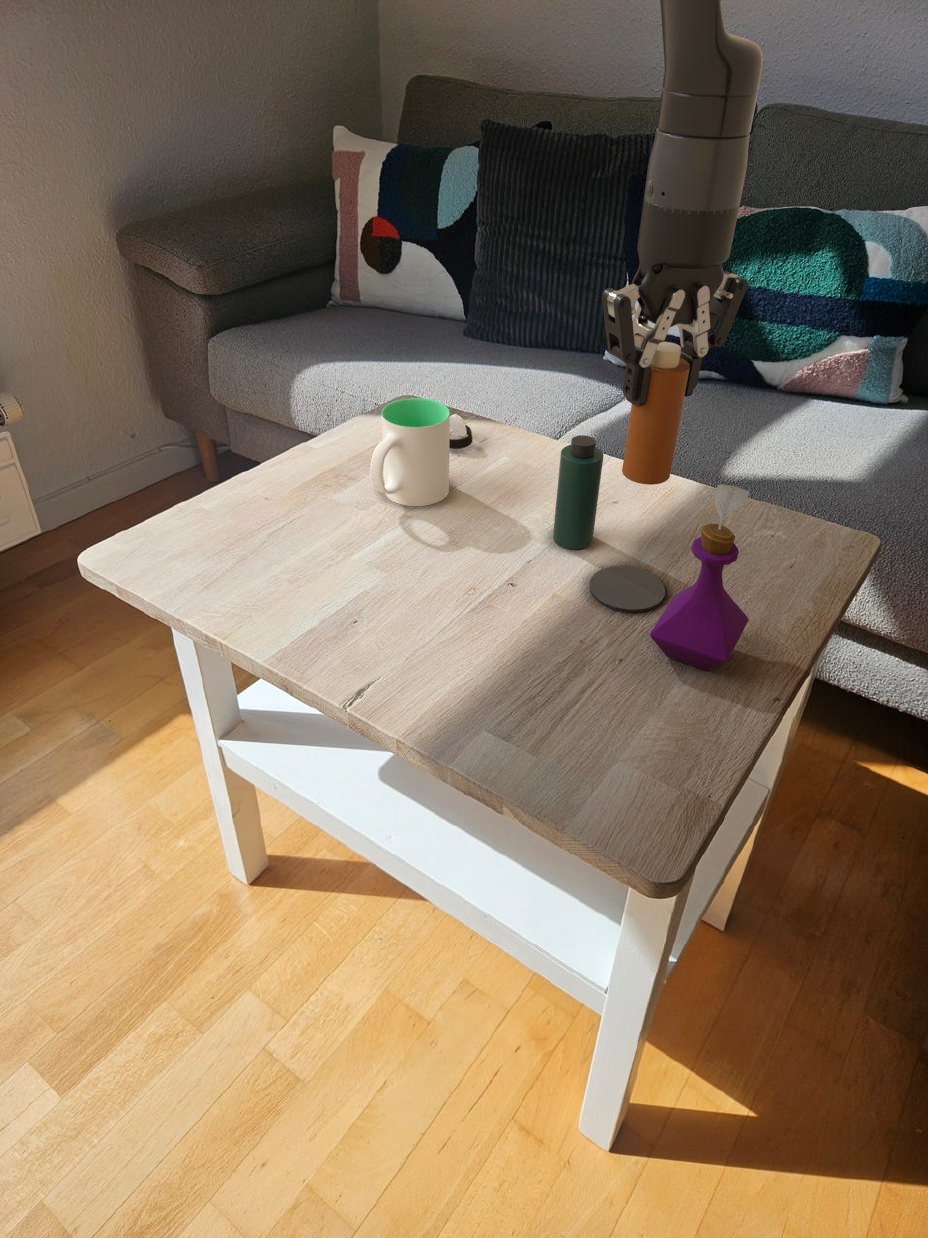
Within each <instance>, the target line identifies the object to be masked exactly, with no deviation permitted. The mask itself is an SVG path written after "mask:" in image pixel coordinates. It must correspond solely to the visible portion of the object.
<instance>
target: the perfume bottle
mask: <svg viewBox="0 0 928 1238" xmlns="http://www.w3.org/2000/svg"><path fill="white" fill-rule="evenodd" d="M750 493H751V492H750V491H748V490H747V489H743V488H742V487H739V486H736V485H728V484H718V485H717V487H716V488H715V493H714V506H715V508H716V511H717V513H718V516H719V523H707V524H705V525H702V527H701V530H700V534H701V535H700V536H699V537H697V538H695V539H694V540H693V542H692V545H691V547H690V551H691V553H692V554H693V556H694V557H695V558H696V559H697V560H699V561H700V563H701V566H700V571H699V575H698V577H697V579H696V581H695V582H694V584H692V585H690V586H688V587H686V588H685V589H683V590H682V591H680V592H678V593H676V594H674V595H673V597H672V599H671V600H670V602H669V603H668V605H667V606H666V608H665V610H664V611H663V613H662V614H661V616H660V617H659V619H658V620H657V622H656V623H655V625H654V626H653V628H652V630H651V631H650V633H649V637H650V638H651V639H652V640H653V641H654V643H655V644H656V645H657V646H658V648H659V649H660V650H661V651H662V653H663V654H664V655H665V656H666V657H667V658H668V659H671V660H674V661H677V662H680V663H682V664H685V665H688V666H691V667H694V668H697V669H699V670H702V671H705V672H709V671H711V670H713V669H715V668H717V667H719V666H722V665H724V664H725V663H727V662H728V661H729V659H730V657H731V655H732V653H733V651H734V649H735V648H736V645H737V643H738V642H739V640H740V638H741V636H742V634H743V632H744V630H745V628H746V626H747V624H748V623H749V620H750V619H749V617H748V616H747V614H745V612H744V611H743V610H742V609H741V608H740V607H739V605H738V604H737V603H736V602H735V601H734V599H732V597H731V596H730V594H729V593H728V592H727V590H726V589H725V588H724V587H725V586H724V584H723V583H724V582H723V570H724V566H727V565H731V564H733V563H734V562H736V561H737V560H738V557H739V553H740V551H739V548H738V546H737V545H736V543H734V542H735V540H736V535H735V534H734V533H733V531H732V530H731V529H730V528H728V527H727V526H725V525H723V523H724V521H725V520H726V519H728V518H729V517H730V516H732V515H733V514H735V513H736V512H738V510H739V509H740V508H741V507H742V506H743V505H744V503H745V502H746V501H747V499H748V498H749V496H750Z"/></svg>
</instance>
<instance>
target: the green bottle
mask: <svg viewBox="0 0 928 1238" xmlns="http://www.w3.org/2000/svg"><path fill="white" fill-rule="evenodd" d="M596 443H597V441H596V439H595V438H594V437H592V436H590V435H584V434H583V435H580V434H579V435H575V436H573V437H572V438H571V441H570V444H569V445H566V446H564V447H563V448H562V449H561V450H560V459H559V467H558V477H557V478H558V479H557V487H556V499H555V509H554V510H555V511H554V520H553V521H554V522H553V532H552V540H553V542H554V544H556V545H557V546H559V547H561V548H563V549H567V550H571V551H579V550H584V549H586V548H588V547H591V545H592V543H593V542H594V541H593V540H594V534H595V526H596V525H595V524H596V517H597V510H598V502H599V496H600V495H599V494H600V487H601V478H602V471H603V463H604V451H602V449H600V448H598V447H597V446H596V445H597V444H596Z"/></svg>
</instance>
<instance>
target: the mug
mask: <svg viewBox="0 0 928 1238" xmlns="http://www.w3.org/2000/svg"><path fill="white" fill-rule="evenodd" d="M450 414H451V413H450V409H449V408H448V407H447V406H446V405H445V403H442V402H440V401H437V400H434V399H429V398H421V397H410V398H402V399H398V400H394V401H392V402H389V403H388V404H386V405H385V406H384V407H383V408H382V410H381V413H380V415H381V435H382V436H381V437H382V438H381V439H382V440H381V441H380V442H379V443H378V444H377V445H376V447H375V449H374V450H373V453H372V456H371V459H370V465H369V466H370V467H369V468H370V472H369V474H370V481H371V483H372V486H373V487H374V488H375V490H377V492H380V493H382V494H385V496H386V497H387V498H388V499H389V500H391V501H392V502H394V503H397V504H399V505H402V506H408V507H425V506H430V505H435V504H437V503H439V502H442V501H443V500H444V499H446V497H447V496H448V495H449V493H450V448H449V439H450V428H451V427H450V416H451V415H450Z"/></svg>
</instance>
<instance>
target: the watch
mask: <svg viewBox="0 0 928 1238" xmlns="http://www.w3.org/2000/svg"><path fill="white" fill-rule="evenodd" d="M449 428H451V429H452V431H453V432H454V433H455V434H456V435H458V436H460V437H463V438H449V449H451V450H452V449H453V450H461V449H465V448H467V447H469V446H471V445H472V444H473V432H472V429H471V427H470V426H468V424H467V422H466V421H465V420H464V419H463V418H462V417H461V416H460V415H458V414H457V413H454V414H452V415H450V427H449Z"/></svg>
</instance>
